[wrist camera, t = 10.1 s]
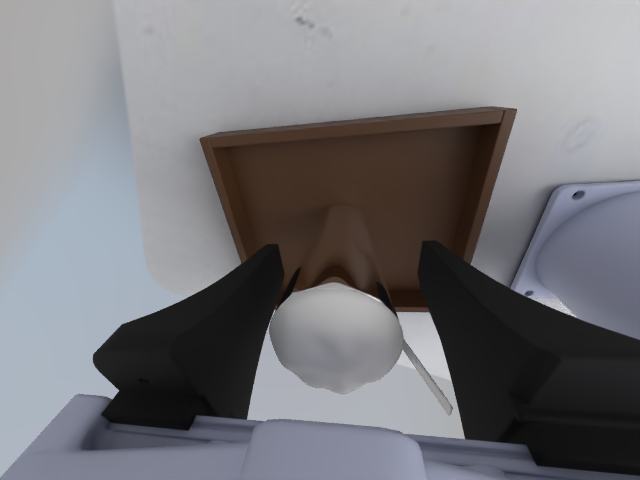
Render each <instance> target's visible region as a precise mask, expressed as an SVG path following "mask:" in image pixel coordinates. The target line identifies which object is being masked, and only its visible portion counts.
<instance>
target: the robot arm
mask: <svg viewBox="0 0 640 480" xmlns="http://www.w3.org/2000/svg"><path fill="white" fill-rule="evenodd" d="M577 191H578V193H577V195H575V196H574V197H572V196H573V195H574V193H576V192H577ZM417 275H418V279H419V283H420V287H421V291H422V294H423V297H424V299H425V302H426V304H427V307H428V309H429V312H430V314H431V317H432V319H433V322H434V324H435V326H436V329H437V331H438V334H439V337H440V340H441V343H442V346H443V350H444V353H445V357H446V361H447V364H448V368H449V372H450V376H451V379H452V383H453V387H454V391H455V396H456V400H457V404H458V408H459V412H460V417H461V422H462V426H463V431H464V436H465V439H456V438H455V439H454V438H445V437H433V436H422V435H411V434H403V433H402V432H400V431H396V430H390V429H386V428H380V427H371V426H360V425H347V424H337V423H325V422H313V421H302V420H291V419H274V420H267V421H255V420H247V415H248V410H249V404H250V398H251V394H252V389H253V384H254V379H255V375H256V370H257V366H258V361H259V357H260V353H261V349H262V345H263V341H264V338H265V334H266V331H267V328H268V325H269V322H270V320H271V317H272V314H273V312H274V309H275V306H276V304H277V301H278V298H279V296H280V293H281V290H282V285H283V281H284V276H285V273H284V268H283V264H282V259H281V255H280V250H279V246H278V244H266V245H265V246H264V247H262V248H261V249H260V250H258V251H257V252H256V253H255V254H253V255H252V256H251V257H250V258H248V259H247V260H246V261H245V262H243V263H242V264H241V265H240V266H238V267H237V268H235V269H234V270H233V271H231V272H230V273H229V274H227V275H226V276H224V277H223V278H221V279H220V280H218V281H217V282H215V283H214V284H212V285H210V286H209V287H207V288H205V289H203V290H202V291H200V292H198V293H196V294H194V295H192V296H190V297H188V298H186V299H184V300H182V301H180V302H178V303H176V304H174V305H171V306H169V307H167V308H164V309H162V310H160V311H157V312H155V313H152V314H150V315H147V316H144V317H141V318H139V319H136V320H133V321H130V322H128V323H125V324H122V325H121V326H120V327H119V328H118V329H117V330H116V331H115V332H114V333H113V334H112V335H111V336H110V337H109V339H108V340H107V341H106V342H105V343H104V344H103V345H102V346H101V347H100V348H99V349H98V350H97V351H96V352H95V353H94V354H93V363H94V365H95V367H96V368H97V369H98V370H99V372H100V373H102V375H103V376H105V377H106V378H107V379H108V380H109V381H110V382H111V383H112V384H113V385H114V386H115V387H116V388H117V389H118V390H120V391H119V392H118V393H117V394H116V396H115V397H114V399H113V400H112V399H110V398H108V397H103V396H96V395H83V394H78V395H75V396H74V397H73V398H72V399H71V401H70V402H69V403H68V404H67V405H66V406H65V407H64V408H63V409H62V410H61V412H60V413H59V414H58V415H57V416H56V417H55V418H54V419H53V420H52V421H51V423H50V424H49V425H48V426H47V427H46V428H45V429H44V430H43V431H42V432H41V433H40V435H39V436H38V437H37V438H36V439H35V440H34V441H33V442H32V443H31V445H30V446H29V447H28V448H27V449H26V450H25V451H24V452H23V453H22V454H21V456H20V457H19V458H18V459H17V460H16V461H15V462H14V463H13V464H12V465H11V467H10V468H9V469H8V470H7V471H6V472H5V473H4V474H3V475H2V476H1V478H0V480H640V181H627V182H607V183H588V184H568V185H562V186H560V187H558V188H557V189H556V190H554V192H553V193H552V195H551V197H550V200H549V202H548V204H547V206H546V209H545V211H544V213H543V215H542V218H541V220H540V222H539V224H538V227H537V229H536V231H535V233H534V236H533V238H532V240H531V243H530V245H529V247H528V249H527V252H526V254H525V256H524V258H523V261H522V263H521V265H520V267H519V270H518V272H517V274H516V276H515V279H514V281H513V283H512V285H511V288H508V287H506V286H504V285H503V284H501V283H499V282H497V281H495V280H494V279H492V278H490V277H489V276H487V275H485V274H484V273H482V272H481V271H479V270H477V269H476V268H474V267H473V266H471V265H470V264H469V263H467V262H466V261H464V260H463V259H461V258H460V257H459V256H457V255H456V254H454V253H453V252H452V251H450V250H449V249H448V248H446V247H445V246H444V245H442V244H441V243H439V242H438V241H436V240H429V241H422V247H421V253H420V260H419V266H418V272H417ZM530 298H558V299H559V300H560V301H561V302H562V303H563V304H564V305H565V306H566V307H567V308H568V309H569V310H570V311H571V312H572V313H573V314H574V315H575V316H576V317H577V318H575V317H573V316H570V315H568V314H565V313H562V312H560V311H558V310H555V309H553V308H550V307H548V306H546V305H543V304H541V303H539V302H537V301H535V300H532V299H530Z"/></svg>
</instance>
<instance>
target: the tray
mask: <svg viewBox="0 0 640 480" xmlns="http://www.w3.org/2000/svg"><path fill="white" fill-rule="evenodd" d="M516 112H517V109H514V108H504V107H493V106H491V107H480V108H470V109H459V110H449V111H438V112H428V113H418V114H407V115H397V116H386V117H376V118H365V119H355V120H344V121H334V122H323V123H313V124H303V125H292V126H282V127H271V128H261V129H250V130H240V131H229V132H219V133H215V134H212V135H209V136H206V137H202V138H200V142H201V145H202V148H203V151H204V154H205V157H206V160H207V163H208V166H209V169H210V172H211V175H212V178H213V181H214V184H215V186H216V189H217V192H218V195H219V198H220V201H221V204H222V207H223V210H224V213H225V216H226V219H227V222H228V225H229V228H230V231H231V234H232V237H233V240H234V243H235V246H236V248H237V251H238V254H239V257H240V260H241V263H243V262H245V261H246V260H247V259H248V258H250V257H251V256H252V255H253V254H255V253H256V252H257V251H258V250H260V249H261V248H262V247H264V246H265V245H266V244H278V246H279V250H280V255H281V259H282V264H283V268H284V273H285V276H284V281H283V285H282V290H281V293H280V296H279V298H278V301H277V304H276V306H275V309H274V310H276V309H277V307H278V305H279V302H280V300H281V298H282V296H283V294H284V292H285V290H286V288H287V286H288V284H289V282H290V280H291V277H292V275H293V273H294V271H295V269H296V267H297V265H298V263H299V260H300V258H301V256H302V253H303V251H304V249H305V246H306V244H307V242H308V239H309V237H310V235H311V232H312V230H313V227H314V225H315V223H316V220H317V218H318V216H319V215H320V214H321V213H322V212H324V211H325V210H326V209H328V208H329V207H330V206H333V205H350V206H351V207H353V208H355V209H356V210H358V211H360V212H362V213H363V215H364V218H365V221H366V223H367V226H368V229H369V232H370V235H371V239H372V242H373V246H374V249H375V253H376V256H377V259H378V263H379V266H380V269H381V272H382V274H383V277H384V279H385V282H386V285H387V288H388V290H389V293H390V296H391V299H392V302H393V305H394V308H395V310H396V312H429V309H428V307H427V304H426V302H425V299H424V297H423V294H422V291H421V287H420V283H419V279H418V275H417V272H418V266H419V260H420V253H421V247H422V241H429V240H436V241H438V242H439V243H441V244H442V245H444V246H445V247H446V248H448V249H449V250H450V251H452V252H453V253H454V254H456V255H457V256H459V257H460V258H461V259H463V260H464V261H466V262H467V263H469V264H471V261H472V258H473V254H474V251H475V248H476V245H477V241H478V238H479V235H480V231H481V228H482V225H483V221H484V218H485V215H486V211H487V208H488V205H489V202H490V198H491V195H492V192H493V188H494V185H495V182H496V178H497V175H498V172H499V169H500V165H501V162H502V159H503V155H504V152H505V149H506V145H507V142H508V139H509V135H510V132H511V129H512V126H513V122H514V119H515V116H516Z"/></svg>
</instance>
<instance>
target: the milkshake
mask: <svg viewBox="0 0 640 480" xmlns="http://www.w3.org/2000/svg"><path fill="white" fill-rule="evenodd" d="M269 333H270V338H271V341H272V345H273V347H274V350H275V352H276V355H277V357H278V359H279V361H280V362H281V364H282V365H283V366H284V367H285V368H287V369H289V370H290V371H292V372H293V373H294V374H295V375H297V376H298V377H299V378H300V379H301V380H302V381H303V382H304V383H306V384H307V385H309V386H312V387H315V388H324V389H328V390H330V391H333V392H335V393H339V394H347V393H350V392H352V391H354V390H356V389H358V388H359V387H361V386H362V385H365V384H366V383H370V382H374V381H377V380H380V379H381V378H382V377H384V375H386V374H387V373H388V372H389V371H390V370H391V369H392V367H393V366H394V365H395V363H396V362H397V360H398V359H399V357H400V354H401V352H402V349H403V350H404V352H405V353H406V355H407V356H408V358H409V359H410V360H411V362H412V363H413V365H414V366H415V368H416V369H417V371H418V372H419V373H420V375H421V376H422V378H423V379H424V381H425V382H426V384H427V385H428V387H429V388H430V389H431V391H432V392H433V394H434V395H435V397H436V398H437V400H438V401H439V403H440V404H441V406H442V407H443V408H444V410H445V411H446V413H447V414H448V415H450V414H451V412H452V409H453V408H452V406H451V404H450V403H449V401H448V400H447V398H446V397H445V396H444V394H443V393H442V391H441V390H440V389H439V387H438V386H437V385H436V383H435V382H434V380H433V379H432V378H431V376H430V375H429V373H428V372H427V371H426V369H425V368H424V366H423V365H422V364H421V362H420V361H419V360H418V358H417V357H416V355H415V354H414V353H413V351H412V350H411V348H410V347H409V346H408V344H407V343H406V342H405V340H404V339H403V331H402V328H401V325H400V322H399V319H398V316H397V313H396V310H395V308H394V305H393V302H392V299H391V296H390V293H389V290H388V288H387V285H386V282H385V279H384V277H383V274H382V272H381V269H380V266H379V263H378V259H377V256H376V253H375V249H374V246H373V242H372V239H371V235H370V232H369V229H368V226H367V223H366V221H365V218H364V215H363V213H362V212H360V211H358V210H356V209H355V208H353V207H351V206H350V205H333V206H330V207H329V208H328V209H326V210H325V211H324V212H322V213H321V214H320V215H319V216H318V218H317V220H316V223H315V225H314V227H313V230H312V232H311V235H310V237H309V239H308V242H307V244H306V246H305V249H304V251H303V253H302V256H301V258H300V260H299V263H298V265H297V267H296V269H295V271H294V273H293V275H292V277H291V280H290V282H289V284H288V286H287V288H286V290H285V292H284V294H283V296H282V298H281V300H280V302H279V305H278V307H277V309H276V311H275V313H274V315H273V317H272V320H271V323H270V328H269Z"/></svg>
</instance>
